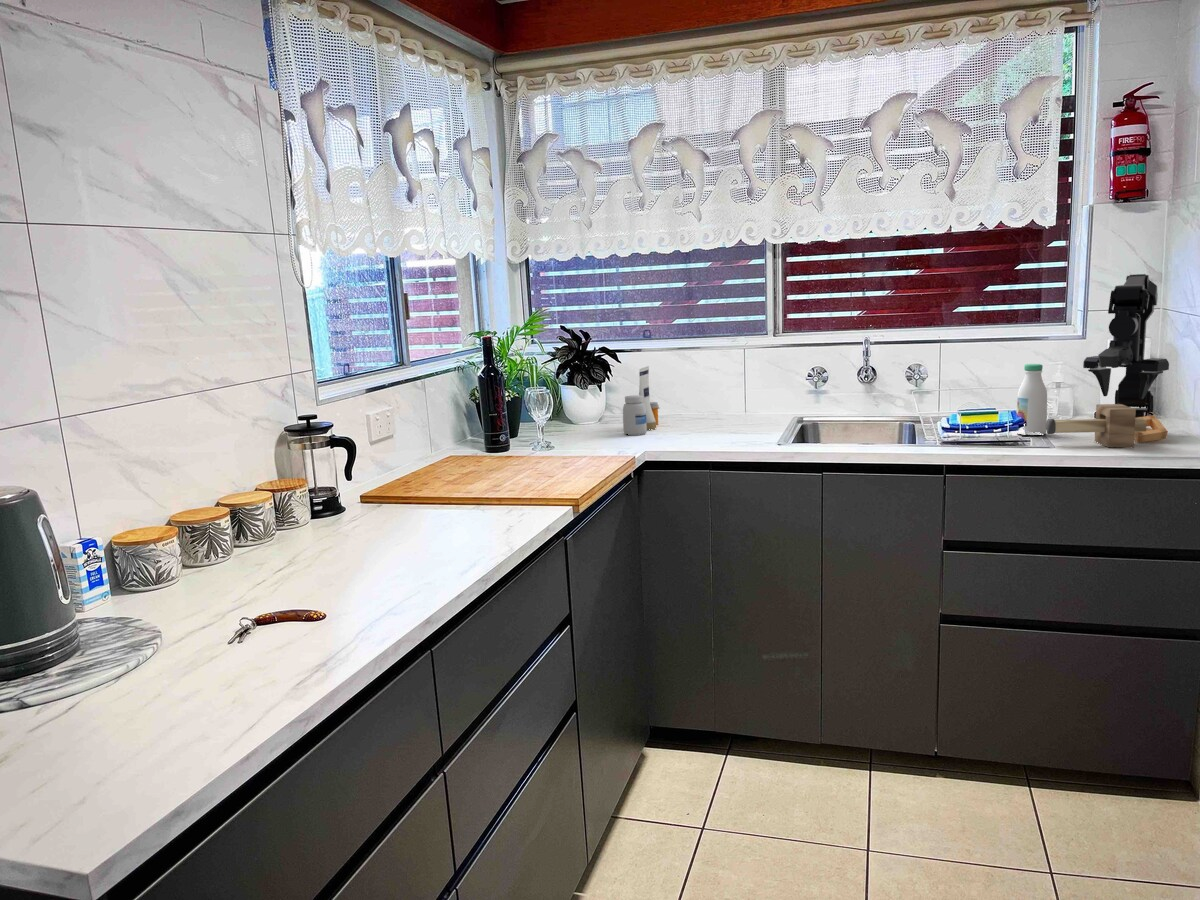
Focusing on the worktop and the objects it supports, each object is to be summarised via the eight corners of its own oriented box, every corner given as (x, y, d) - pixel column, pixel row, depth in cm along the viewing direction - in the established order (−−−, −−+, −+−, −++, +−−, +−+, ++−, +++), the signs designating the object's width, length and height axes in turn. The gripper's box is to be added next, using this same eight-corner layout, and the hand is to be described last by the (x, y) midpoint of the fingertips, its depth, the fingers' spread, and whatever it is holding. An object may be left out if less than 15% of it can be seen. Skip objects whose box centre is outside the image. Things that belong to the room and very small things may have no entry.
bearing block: (1094, 441, 244) (1096, 404, 242) (1118, 441, 243) (1120, 404, 241) (1108, 448, 234) (1110, 409, 233) (1133, 447, 233) (1135, 409, 231)
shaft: (1045, 432, 243) (1046, 417, 242) (1140, 431, 239) (1141, 416, 238) (1050, 435, 239) (1051, 420, 238) (1146, 433, 235) (1147, 418, 234)
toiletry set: (643, 436, 288) (640, 371, 284) (620, 436, 290) (617, 371, 287) (665, 424, 311) (663, 364, 307) (644, 424, 313) (642, 364, 310)
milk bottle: (1045, 432, 261) (1048, 362, 257) (1046, 437, 254) (1049, 365, 250) (1016, 432, 264) (1018, 363, 260) (1015, 436, 257) (1018, 365, 253)
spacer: (1137, 435, 238) (1125, 419, 244) (1136, 442, 239) (1123, 426, 245) (1167, 431, 237) (1154, 415, 243) (1166, 438, 238) (1152, 422, 244)
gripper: (1071, 337, 232) (1069, 398, 235) (1146, 339, 216) (1143, 404, 219) (1097, 334, 238) (1094, 393, 240) (1172, 335, 222) (1168, 399, 225)
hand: (1123, 397), depth 231 cm, fingers open, 9 cm apart
